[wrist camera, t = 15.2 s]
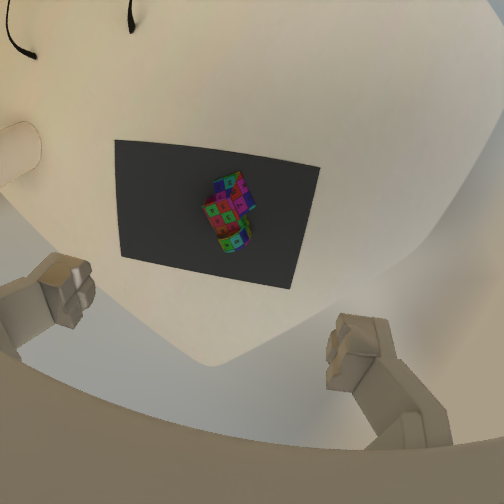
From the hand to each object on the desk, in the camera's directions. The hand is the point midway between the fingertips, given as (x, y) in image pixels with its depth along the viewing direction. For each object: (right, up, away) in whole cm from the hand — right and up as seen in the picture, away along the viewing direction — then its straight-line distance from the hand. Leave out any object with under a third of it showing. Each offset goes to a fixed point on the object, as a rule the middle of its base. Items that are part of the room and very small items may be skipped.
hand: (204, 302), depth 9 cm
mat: (-3, +5, +22) cm, 23 cm away
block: (0, +6, +21) cm, 22 cm away
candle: (-26, +14, +19) cm, 36 cm away
